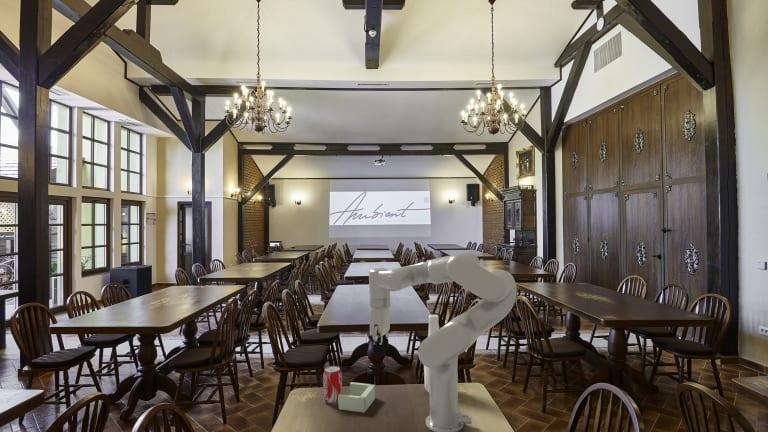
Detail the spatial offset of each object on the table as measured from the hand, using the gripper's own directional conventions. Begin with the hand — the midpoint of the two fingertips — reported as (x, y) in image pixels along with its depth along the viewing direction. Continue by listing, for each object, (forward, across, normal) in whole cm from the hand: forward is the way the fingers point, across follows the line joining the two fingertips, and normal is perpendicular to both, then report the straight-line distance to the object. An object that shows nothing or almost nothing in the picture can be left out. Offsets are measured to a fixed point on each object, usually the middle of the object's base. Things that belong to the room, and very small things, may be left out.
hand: (381, 351), depth 149 cm
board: (+21, 0, -16) cm, 27 cm away
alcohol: (+22, -22, +15) cm, 34 cm away
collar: (+20, 0, -10) cm, 22 cm away
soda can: (+20, 0, -20) cm, 28 cm away
